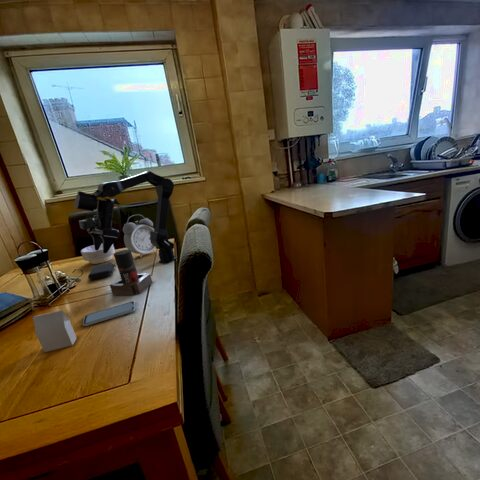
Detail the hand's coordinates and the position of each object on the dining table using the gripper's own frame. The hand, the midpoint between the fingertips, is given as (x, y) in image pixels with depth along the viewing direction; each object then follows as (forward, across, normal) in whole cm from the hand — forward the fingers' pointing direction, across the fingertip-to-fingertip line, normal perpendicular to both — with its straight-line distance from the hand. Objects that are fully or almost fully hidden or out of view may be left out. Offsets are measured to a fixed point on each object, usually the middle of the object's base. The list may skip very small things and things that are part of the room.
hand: (100, 251), depth 114 cm
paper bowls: (+9, -37, +14) cm, 41 cm away
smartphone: (+17, +31, -6) cm, 36 cm away
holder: (+12, +18, +7) cm, 22 cm away
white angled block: (+23, +36, -20) cm, 47 cm away
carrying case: (+12, -14, +7) cm, 19 cm away
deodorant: (+12, +18, +7) cm, 22 cm away
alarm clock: (+3, -22, +30) cm, 37 cm away
